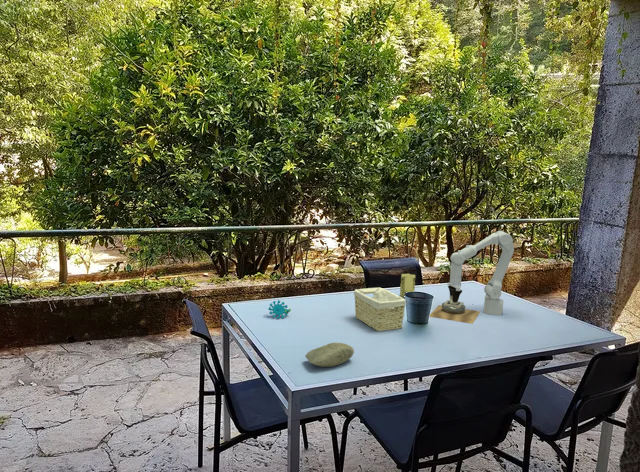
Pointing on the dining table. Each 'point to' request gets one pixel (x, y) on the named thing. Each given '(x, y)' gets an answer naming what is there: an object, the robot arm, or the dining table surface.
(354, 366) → the dining table surface
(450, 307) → the grey round socket base
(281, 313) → the teal virus model
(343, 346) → the rock
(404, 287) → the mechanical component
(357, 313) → the storage basket
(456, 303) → the flanged cap
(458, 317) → the board
